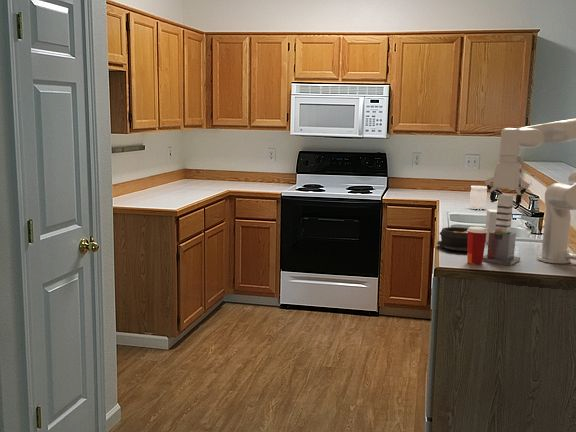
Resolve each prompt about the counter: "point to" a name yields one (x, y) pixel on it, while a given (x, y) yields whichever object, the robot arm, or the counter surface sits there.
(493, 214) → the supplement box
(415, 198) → the counter surface
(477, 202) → the jar
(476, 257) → the paper cup
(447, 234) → the casserole
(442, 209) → the counter surface
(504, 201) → the column
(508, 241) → the stand
